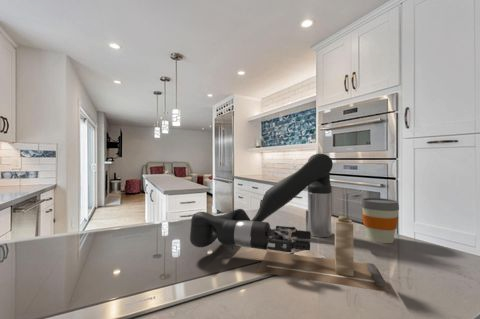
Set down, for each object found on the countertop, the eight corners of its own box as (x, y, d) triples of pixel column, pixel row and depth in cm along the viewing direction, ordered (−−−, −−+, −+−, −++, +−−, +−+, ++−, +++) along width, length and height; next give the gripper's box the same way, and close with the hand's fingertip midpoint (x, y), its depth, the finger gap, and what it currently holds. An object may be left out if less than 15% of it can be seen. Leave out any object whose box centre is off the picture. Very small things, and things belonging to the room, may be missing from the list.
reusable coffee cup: (356, 239, 89) (356, 200, 89) (366, 232, 98) (366, 196, 98) (395, 247, 80) (395, 204, 80) (402, 239, 89) (401, 200, 89)
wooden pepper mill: (336, 273, 58) (335, 218, 58) (334, 266, 62) (334, 215, 62) (353, 276, 57) (353, 219, 57) (351, 269, 61) (350, 216, 61)
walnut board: (256, 277, 60) (256, 267, 60) (267, 256, 73) (267, 248, 73) (390, 298, 50) (389, 287, 50) (374, 270, 63) (374, 261, 63)
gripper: (258, 239, 74) (311, 245, 69) (245, 256, 60) (309, 265, 55) (258, 216, 74) (311, 220, 69) (245, 228, 60) (309, 234, 55)
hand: (310, 240), depth 62 cm, fingers open, 8 cm apart
